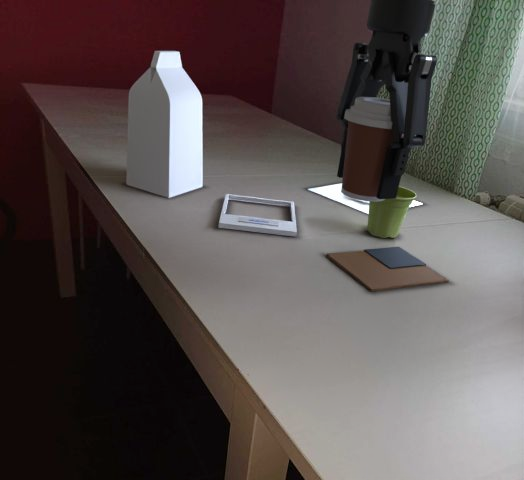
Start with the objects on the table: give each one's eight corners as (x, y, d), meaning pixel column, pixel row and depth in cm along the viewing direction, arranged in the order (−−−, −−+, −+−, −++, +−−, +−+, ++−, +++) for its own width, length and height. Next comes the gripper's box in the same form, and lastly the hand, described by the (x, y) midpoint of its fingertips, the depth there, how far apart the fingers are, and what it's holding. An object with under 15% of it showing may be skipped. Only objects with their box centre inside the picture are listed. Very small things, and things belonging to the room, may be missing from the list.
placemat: (448, 282, 91) (449, 279, 91) (371, 291, 85) (372, 288, 84) (398, 249, 102) (398, 246, 101) (326, 255, 95) (326, 252, 95)
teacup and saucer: (343, 196, 127) (346, 179, 124) (363, 192, 132) (367, 175, 129) (372, 208, 122) (376, 190, 119) (393, 203, 127) (397, 186, 124)
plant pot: (366, 221, 113) (375, 180, 109) (409, 232, 110) (421, 190, 106) (352, 233, 106) (362, 190, 101) (399, 246, 103) (411, 201, 98)
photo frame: (218, 221, 99) (226, 193, 114) (218, 227, 100) (225, 198, 115) (297, 230, 100) (294, 201, 115) (296, 236, 101) (293, 206, 116)
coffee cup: (408, 198, 76) (431, 106, 70) (372, 208, 70) (393, 109, 64) (355, 181, 81) (372, 94, 75) (318, 189, 75) (333, 95, 69)
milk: (168, 197, 111) (171, 56, 97) (126, 184, 116) (123, 46, 101) (202, 186, 120) (209, 55, 106) (162, 174, 125) (163, 47, 111)
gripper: (329, -12, 69) (303, 165, 81) (443, -6, 53) (390, 214, 65) (376, -6, 72) (345, 165, 85) (497, 3, 56) (437, 211, 69)
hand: (365, 186), depth 75 cm, fingers closed on coffee cup, 9 cm apart
